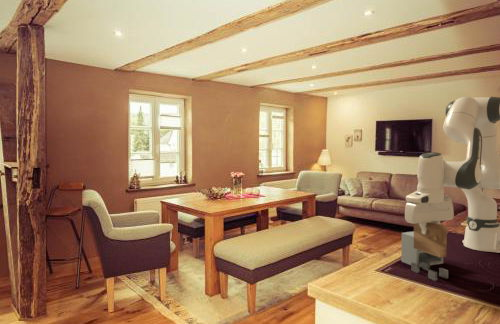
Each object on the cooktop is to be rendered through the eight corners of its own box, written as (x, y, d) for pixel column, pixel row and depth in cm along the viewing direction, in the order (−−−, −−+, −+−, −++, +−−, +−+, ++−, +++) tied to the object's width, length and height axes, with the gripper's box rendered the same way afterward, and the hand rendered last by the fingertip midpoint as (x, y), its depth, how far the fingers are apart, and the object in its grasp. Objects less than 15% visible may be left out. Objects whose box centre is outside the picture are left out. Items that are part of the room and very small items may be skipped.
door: (419, 247, 133) (420, 219, 133) (446, 256, 122) (446, 226, 122) (411, 248, 132) (411, 220, 132) (437, 257, 121) (438, 227, 120)
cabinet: (427, 257, 147) (427, 229, 146) (443, 263, 139) (443, 234, 139) (401, 261, 142) (401, 232, 142) (416, 267, 135) (416, 237, 134)
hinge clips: (423, 268, 134) (423, 260, 134) (448, 278, 124) (448, 270, 124) (411, 270, 132) (411, 262, 132) (435, 280, 122) (435, 272, 122)
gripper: (444, 193, 133) (443, 229, 133) (402, 196, 126) (401, 233, 127) (458, 196, 127) (457, 232, 127) (415, 199, 120) (414, 238, 121)
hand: (429, 233), depth 127 cm, fingers closed on door, 3 cm apart
